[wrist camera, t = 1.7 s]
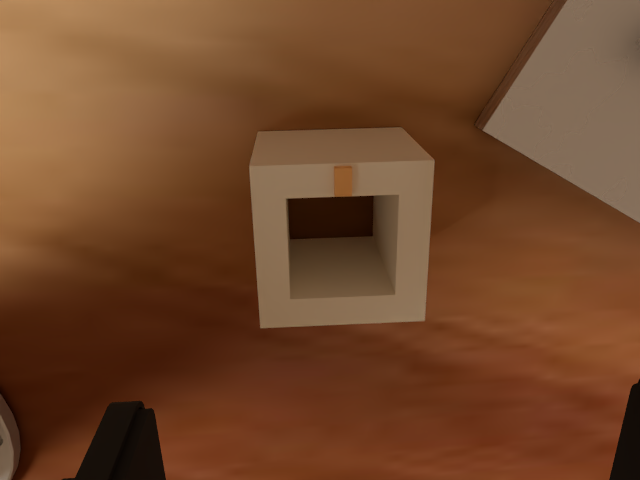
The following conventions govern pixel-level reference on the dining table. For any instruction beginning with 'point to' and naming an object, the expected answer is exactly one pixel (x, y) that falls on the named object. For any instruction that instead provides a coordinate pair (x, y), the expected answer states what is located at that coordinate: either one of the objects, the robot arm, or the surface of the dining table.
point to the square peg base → (578, 99)
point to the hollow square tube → (343, 252)
